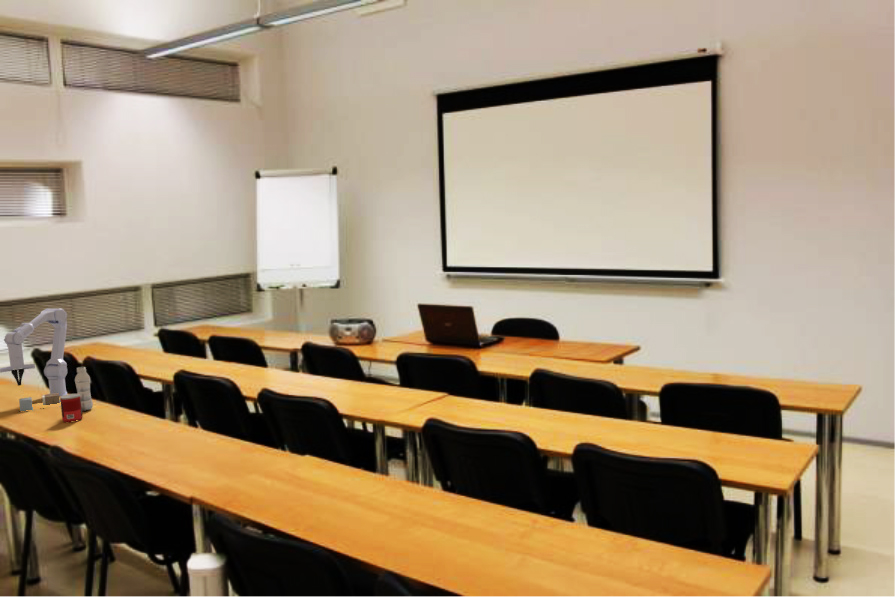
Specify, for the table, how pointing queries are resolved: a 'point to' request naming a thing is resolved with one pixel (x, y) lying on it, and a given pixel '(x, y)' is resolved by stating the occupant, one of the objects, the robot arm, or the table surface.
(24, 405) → the gray block
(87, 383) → the plastic bottle
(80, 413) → the canned food
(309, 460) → the table surface
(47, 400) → the walnut block
